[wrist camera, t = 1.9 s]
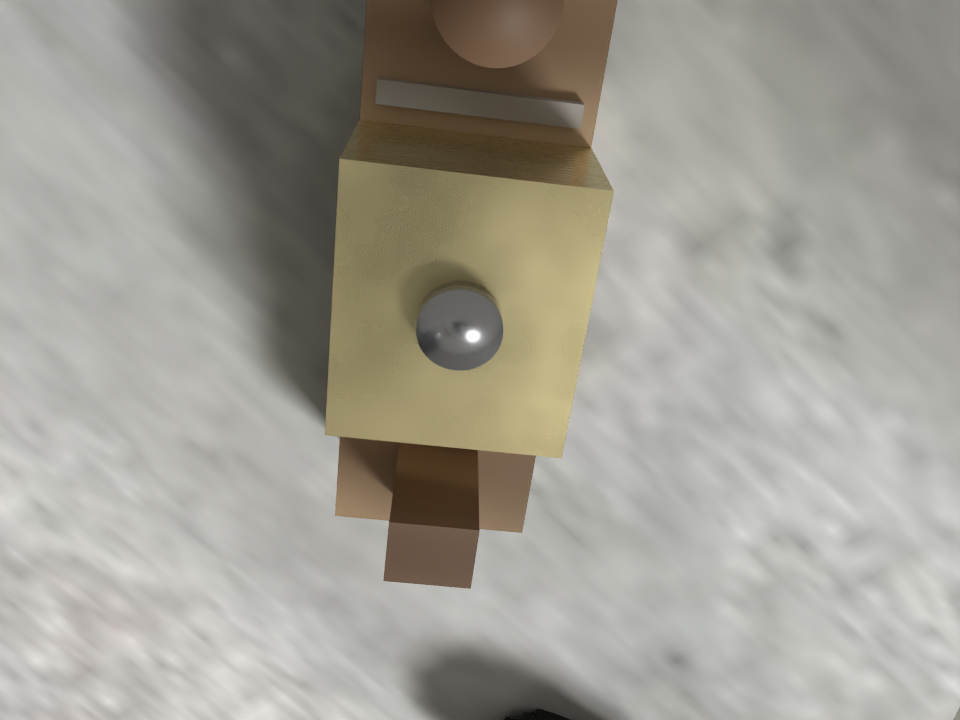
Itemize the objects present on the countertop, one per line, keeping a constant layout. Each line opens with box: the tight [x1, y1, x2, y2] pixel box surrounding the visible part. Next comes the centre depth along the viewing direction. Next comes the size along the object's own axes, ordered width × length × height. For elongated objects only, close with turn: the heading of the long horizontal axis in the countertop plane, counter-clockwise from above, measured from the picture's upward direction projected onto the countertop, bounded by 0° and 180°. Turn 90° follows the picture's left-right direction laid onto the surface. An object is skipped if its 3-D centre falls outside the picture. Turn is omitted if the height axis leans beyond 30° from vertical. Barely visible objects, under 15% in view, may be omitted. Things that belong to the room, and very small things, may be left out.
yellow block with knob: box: [325, 120, 614, 458], centre depth 22 cm, size 7×6×5 cm
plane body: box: [335, 0, 617, 588], centre depth 24 cm, size 18×6×8 cm, turn 173°
